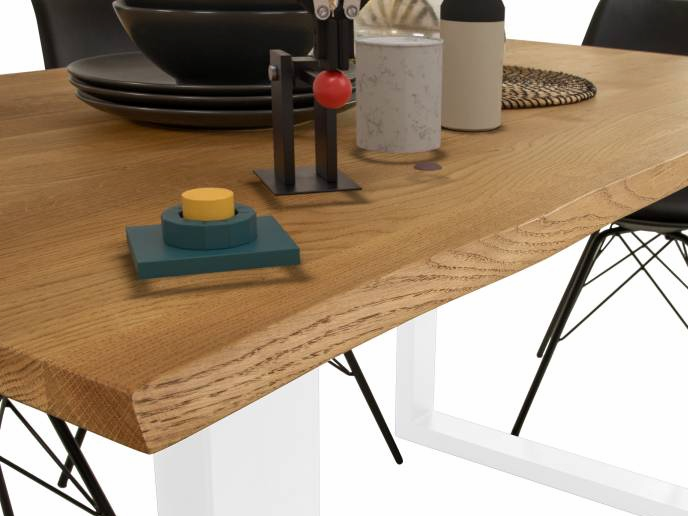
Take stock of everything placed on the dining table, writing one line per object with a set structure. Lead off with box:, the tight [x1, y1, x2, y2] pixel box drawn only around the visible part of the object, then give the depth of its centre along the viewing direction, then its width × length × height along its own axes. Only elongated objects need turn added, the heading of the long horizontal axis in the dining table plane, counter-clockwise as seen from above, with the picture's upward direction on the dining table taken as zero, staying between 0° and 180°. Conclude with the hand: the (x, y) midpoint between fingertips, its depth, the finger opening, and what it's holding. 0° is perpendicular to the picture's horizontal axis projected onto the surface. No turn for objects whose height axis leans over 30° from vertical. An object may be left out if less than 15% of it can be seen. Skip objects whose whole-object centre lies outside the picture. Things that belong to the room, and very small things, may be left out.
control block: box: [125, 201, 301, 281], centre depth 73 cm, size 11×9×4 cm
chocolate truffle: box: [413, 160, 443, 172], centre depth 101 cm, size 3×3×2 cm
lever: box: [292, 56, 353, 109], centre depth 87 cm, size 13×3×3 cm, turn 22°
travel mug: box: [439, 0, 506, 132], centre depth 125 cm, size 8×8×18 cm
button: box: [181, 187, 235, 221], centre depth 72 cm, size 4×4×2 cm
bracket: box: [252, 48, 363, 197], centre depth 93 cm, size 10×8×13 cm
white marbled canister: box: [354, 34, 444, 154], centre depth 110 cm, size 10×10×12 cm
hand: (334, 68), depth 82 cm, fingers closed
